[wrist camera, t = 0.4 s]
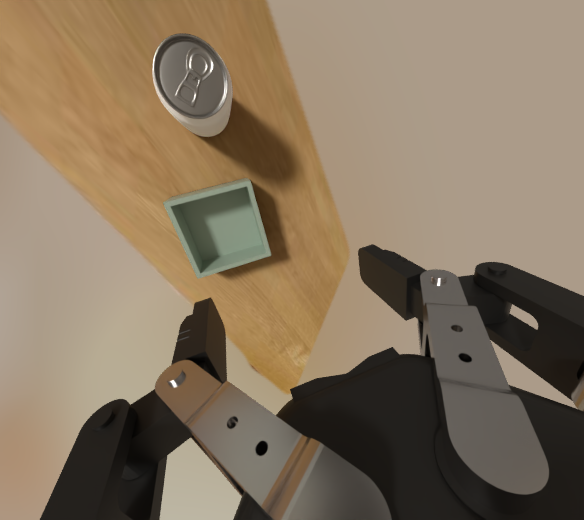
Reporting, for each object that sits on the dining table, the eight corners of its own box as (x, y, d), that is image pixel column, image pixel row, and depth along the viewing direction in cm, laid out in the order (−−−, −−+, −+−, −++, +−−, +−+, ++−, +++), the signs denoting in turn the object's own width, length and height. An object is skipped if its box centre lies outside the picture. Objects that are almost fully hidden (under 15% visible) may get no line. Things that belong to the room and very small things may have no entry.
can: (238, 100, 30) (247, 66, 19) (217, 147, 31) (214, 140, 21) (187, 63, 27) (165, 1, 17) (166, 117, 29) (133, 91, 18)
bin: (171, 197, 32) (162, 202, 28) (246, 177, 34) (250, 180, 29) (200, 264, 37) (197, 278, 32) (265, 244, 38) (271, 255, 34)
